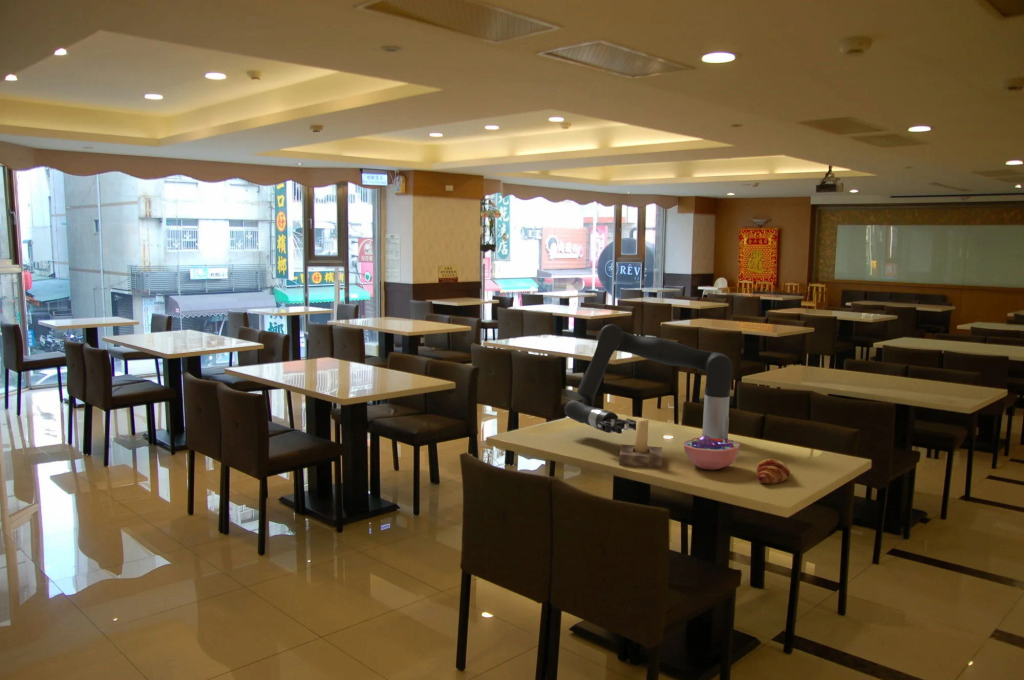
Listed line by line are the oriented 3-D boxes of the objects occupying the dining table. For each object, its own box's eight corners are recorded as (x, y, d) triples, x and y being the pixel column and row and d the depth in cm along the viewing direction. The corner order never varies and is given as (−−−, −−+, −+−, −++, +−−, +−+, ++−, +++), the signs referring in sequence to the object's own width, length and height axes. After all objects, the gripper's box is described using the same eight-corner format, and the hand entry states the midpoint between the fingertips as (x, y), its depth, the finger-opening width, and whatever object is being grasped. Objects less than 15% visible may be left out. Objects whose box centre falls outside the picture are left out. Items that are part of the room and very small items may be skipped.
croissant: (774, 480, 253) (764, 457, 254) (803, 471, 247) (792, 448, 249) (752, 493, 236) (741, 469, 238) (782, 484, 230) (771, 459, 232)
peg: (646, 459, 261) (648, 419, 260) (646, 462, 257) (648, 422, 256) (634, 458, 262) (636, 418, 260) (634, 461, 258) (636, 421, 256)
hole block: (661, 457, 265) (662, 447, 265) (661, 467, 251) (662, 457, 251) (621, 454, 268) (621, 444, 267) (619, 464, 254) (619, 454, 254)
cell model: (751, 470, 251) (753, 437, 250) (706, 478, 241) (708, 443, 240) (714, 458, 266) (716, 426, 264) (670, 464, 256) (672, 431, 254)
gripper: (587, 411, 274) (615, 420, 260) (619, 408, 281) (647, 417, 267) (586, 432, 274) (614, 442, 260) (618, 428, 281) (646, 438, 267)
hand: (631, 429), depth 264 cm, fingers open, 8 cm apart
